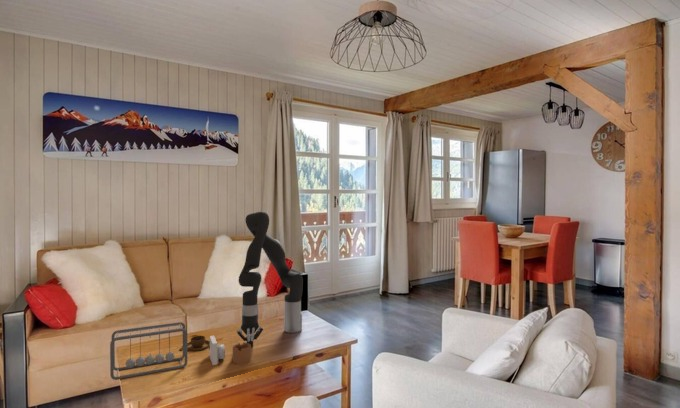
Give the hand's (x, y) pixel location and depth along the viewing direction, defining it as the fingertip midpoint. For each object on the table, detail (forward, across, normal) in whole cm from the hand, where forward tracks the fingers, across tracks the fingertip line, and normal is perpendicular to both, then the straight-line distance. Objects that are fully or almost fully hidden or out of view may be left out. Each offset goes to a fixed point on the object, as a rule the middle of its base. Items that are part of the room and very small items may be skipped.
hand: (249, 348), depth 192 cm
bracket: (+3, +3, 0) cm, 5 cm away
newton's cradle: (+3, +44, -2) cm, 44 cm away
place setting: (+4, +22, -16) cm, 28 cm away
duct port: (+3, +15, 0) cm, 15 cm away
